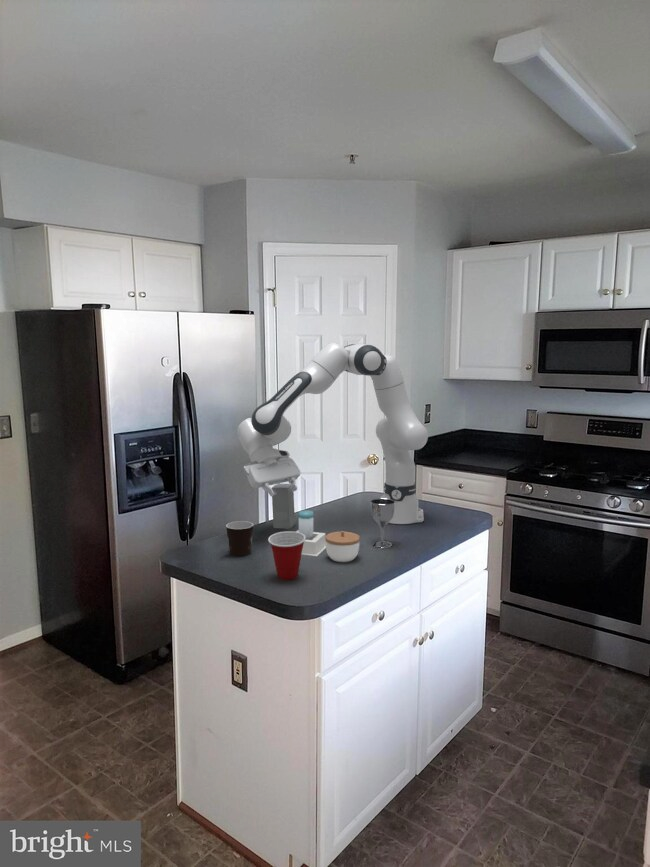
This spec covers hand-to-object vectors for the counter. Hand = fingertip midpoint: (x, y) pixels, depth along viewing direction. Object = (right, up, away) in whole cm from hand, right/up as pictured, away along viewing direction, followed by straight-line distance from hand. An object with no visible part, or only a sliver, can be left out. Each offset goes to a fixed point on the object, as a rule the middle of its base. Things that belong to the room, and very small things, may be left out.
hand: (284, 492), depth 203 cm
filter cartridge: (+7, -18, -5) cm, 20 cm away
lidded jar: (+19, -20, -14) cm, 31 cm away
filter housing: (+7, -18, -5) cm, 20 cm away
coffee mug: (-13, -19, -8) cm, 24 cm away
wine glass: (+33, -18, +1) cm, 37 cm away
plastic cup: (+3, -22, -27) cm, 35 cm away
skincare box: (-2, -15, +21) cm, 25 cm away
